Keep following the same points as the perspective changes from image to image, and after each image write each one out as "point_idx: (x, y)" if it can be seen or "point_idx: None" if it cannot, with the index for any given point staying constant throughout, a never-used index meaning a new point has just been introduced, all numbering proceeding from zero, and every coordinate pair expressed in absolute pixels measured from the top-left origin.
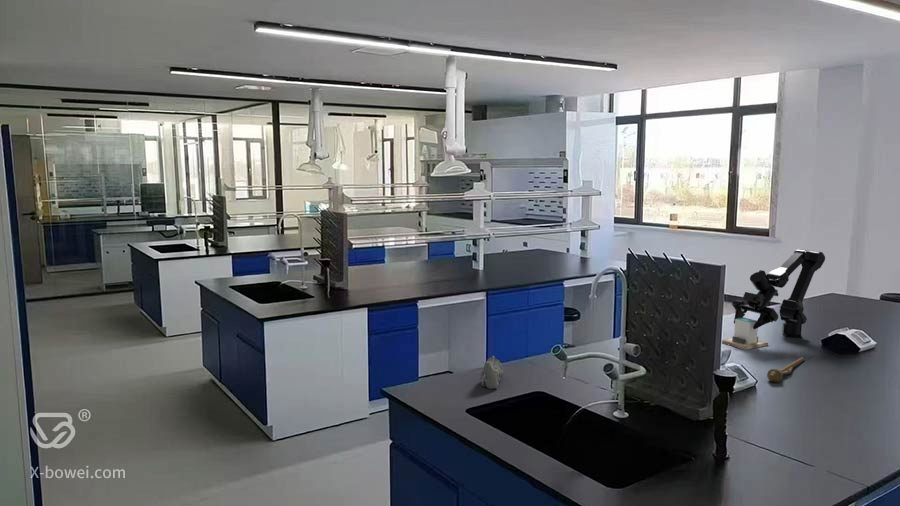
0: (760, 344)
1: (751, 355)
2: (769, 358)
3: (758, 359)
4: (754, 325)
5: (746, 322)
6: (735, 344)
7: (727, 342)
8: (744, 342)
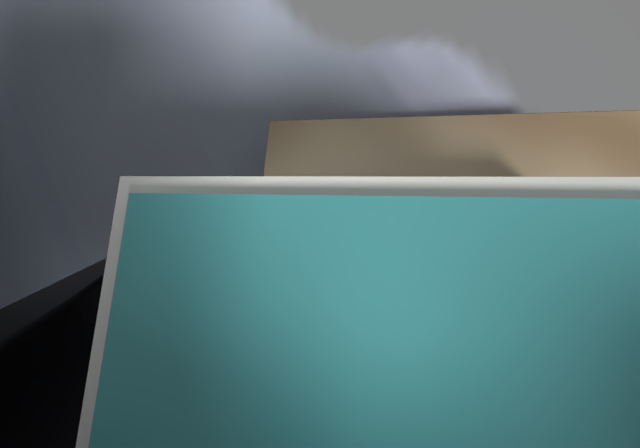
0: None
1: (141, 40)
2: (7, 117)
3: (51, 5)
4: (76, 283)
5: (238, 183)
6: (415, 118)
7: (560, 117)
8: None
